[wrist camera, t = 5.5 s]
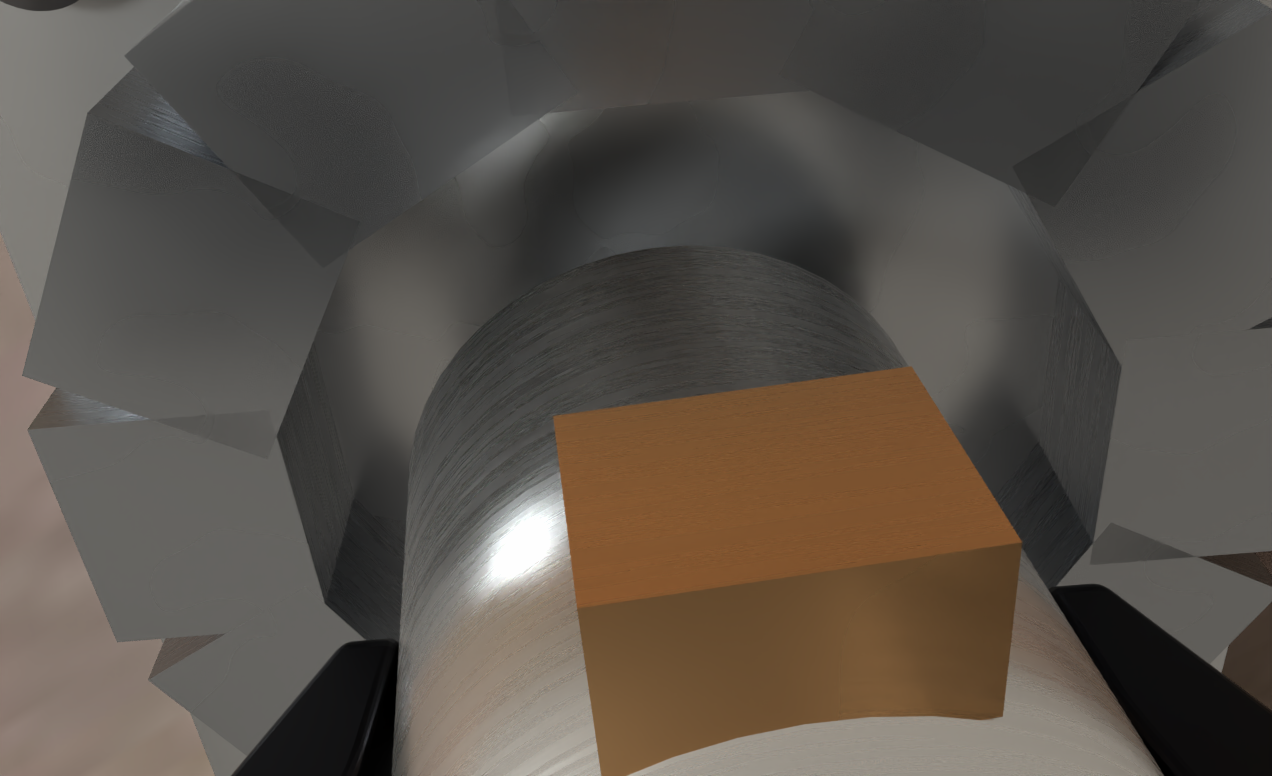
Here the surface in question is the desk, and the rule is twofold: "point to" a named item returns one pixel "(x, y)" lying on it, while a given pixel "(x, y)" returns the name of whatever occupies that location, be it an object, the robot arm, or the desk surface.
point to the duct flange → (609, 225)
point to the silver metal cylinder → (720, 550)
